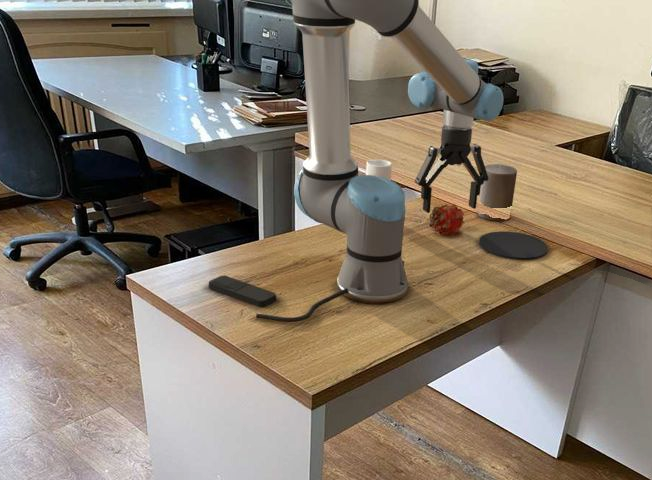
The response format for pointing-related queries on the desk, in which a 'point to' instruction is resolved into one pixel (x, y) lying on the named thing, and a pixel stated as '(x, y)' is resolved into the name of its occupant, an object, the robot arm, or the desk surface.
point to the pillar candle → (498, 188)
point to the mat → (513, 245)
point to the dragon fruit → (446, 219)
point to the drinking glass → (379, 168)
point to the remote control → (242, 290)
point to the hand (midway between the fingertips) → (449, 209)
